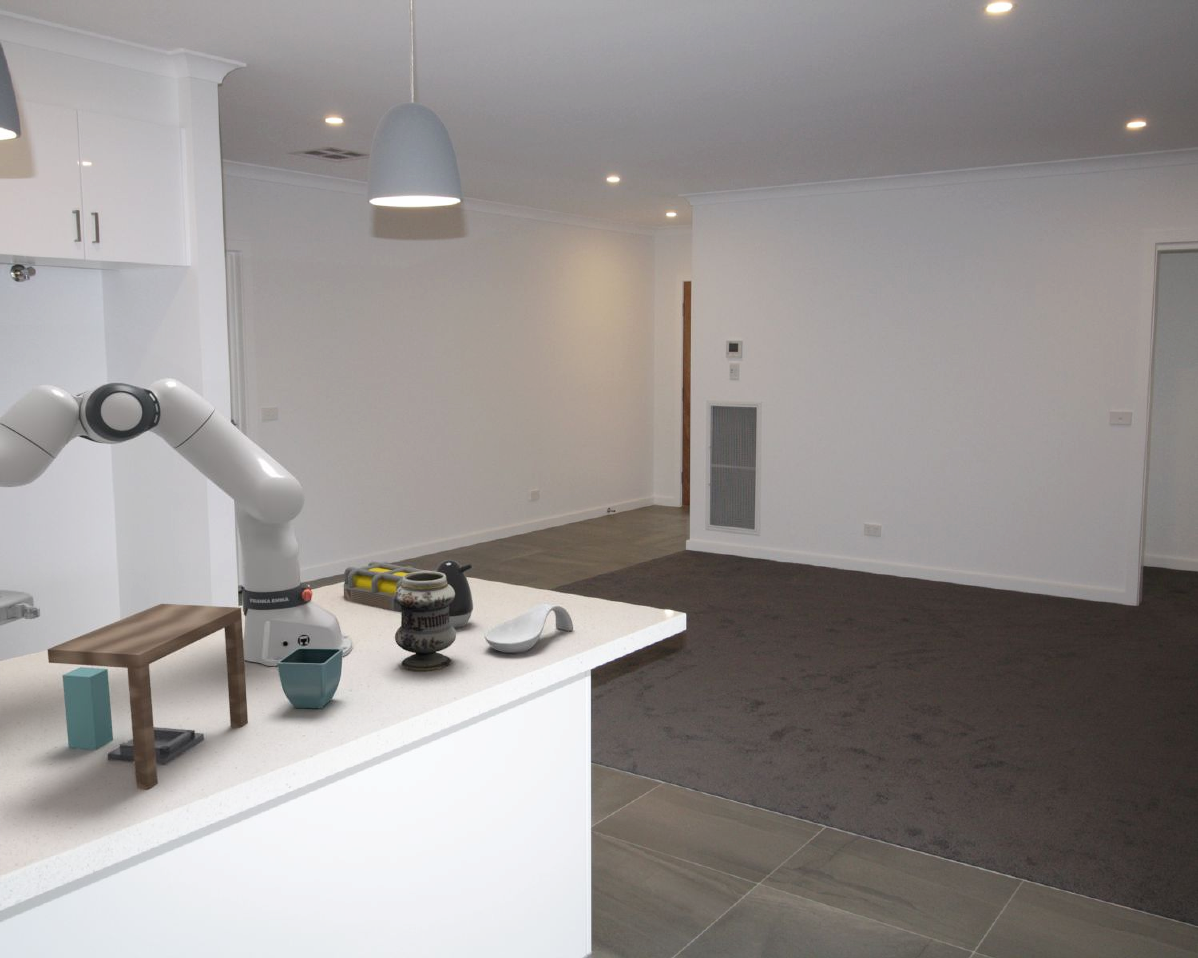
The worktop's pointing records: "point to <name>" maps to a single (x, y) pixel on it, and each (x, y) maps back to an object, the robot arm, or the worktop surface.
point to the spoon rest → (526, 629)
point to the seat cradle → (161, 745)
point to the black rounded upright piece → (458, 592)
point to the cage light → (375, 584)
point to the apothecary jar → (425, 620)
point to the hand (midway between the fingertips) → (14, 620)
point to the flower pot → (310, 676)
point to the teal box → (87, 708)
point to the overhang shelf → (147, 643)
